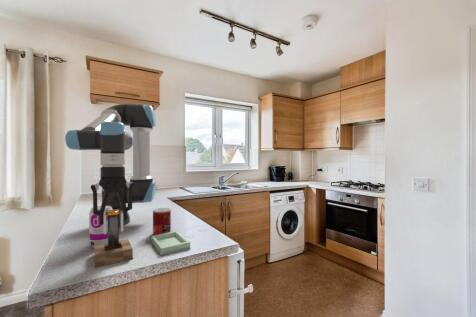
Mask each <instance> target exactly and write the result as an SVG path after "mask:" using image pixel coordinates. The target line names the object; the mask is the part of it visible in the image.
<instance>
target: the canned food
mask: <svg viewBox="0 0 476 317" xmlns="http://www.w3.org/2000/svg"><path fill="white" fill-rule="evenodd" d="M171 220H172V218H171V208H169V207H160V208H154V209H153V210H152V233H153V235H158V234H164V233H169V232H172V230H171V224H172V223H171V222H172V221H171Z"/></svg>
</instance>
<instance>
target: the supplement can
mask: <svg viewBox="0 0 476 317" xmlns="http://www.w3.org/2000/svg"><path fill="white" fill-rule="evenodd" d="M100 208H101V205H100V206H99V205H97V210H100ZM109 210H113V209H112V208H111V206H106V207H105V211H104V214H105V213H106V211H109ZM88 216H89V217H88V221H89V223H88V224H89V225H88V227H89V228H88V230H89V233H88V234H89V235H88V236H89V238H88V241H89V246H90V247H91V248H94V245H99V244H105V243H108V220H107V215H106V234H104V233H103V224H101V225H100V220H99V215H98V214H94V213H93V207H91V208H90V210H89V212H88Z"/></svg>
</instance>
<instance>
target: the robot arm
mask: <svg viewBox="0 0 476 317" xmlns="http://www.w3.org/2000/svg"><path fill="white" fill-rule="evenodd" d="M125 126H128V127H129V130H131V132H132V135H131V134H130V133H129V132H126V128H125ZM153 127H156V115H155V110H154V109H153V106H152V105H148V104H137V103H136V104H135V103H134V104H131V103H129V104H128V103H120V104H115V105H112V106H110V107H109V106H108V108H105V109H104V110H102V112H101V113H100V115H99V116H98V117H96V119H94V120H93V121H91V122H90V123H88V124H87V125H85V127H83V128H82V129H69V130H68V131H67V132H66V134H65V139H64V141H65V144H66V146H67V148H68V149H70V150H73V151H78V150H79V151H99V150H100V154H99V155H100V164H99V165H101V167H100V179H99V181H98V182H97V183H95V184H91V185H90V189H91V191H92V208H93V213H94V214H98V215H99V220H100V225H101V224H103V233H104V234H106V213H105V214H104V211H105V207H106V206H111V208H112V209H113V210H121V213H120V214H119V231H120V232H124V225H127V224H129V223H130V222H131V217H130V213H129V211H131V210H133V204H138V203H139V204H141V203H142V204H146V203H151V202H152V201H153V200H154V198H155V194H156V189H157V183H156V181H155V180H154V179H153V178H154V177H153V176H151V164H150V163H151V161H150V160H151V153H150V152H151V149H150V148H151V147H150V145H151V144H150V143H151V142H150V141H151V140H150V139H151V137H150V136H151V132H152V131H153V129H154V128H153ZM131 148H132V176H131V177H130V178H129V181H128V180H127V179H126V167H125V166H124V165H125V164H126V162H125V161H126V158H125V157H126V156H125V154H126V153H125V152H126V151H127V150H129V149H131ZM99 187H101V191H100V192H101V204H100V206H101V208H100V210H97V206H98V190H99Z"/></svg>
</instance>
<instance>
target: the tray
mask: <svg viewBox="0 0 476 317" xmlns="http://www.w3.org/2000/svg"><path fill="white" fill-rule="evenodd" d="M150 242H151V243H152V244H153V246H154V247H155V248H156V250H157V251H158V252H159V254H160V255H161V256H162V255H167V254H171V253H174V252H175V253H177V252H178V251H183V250H184V251H185V250H188V249H191V241H190V240H189V239H188V238H186V237H185V236H184V235H182V234H181V233H180V232H179V231H177V230H175V231H170V232H169V233H164V234H158V235H154V234H153V235H151V236H150Z"/></svg>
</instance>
